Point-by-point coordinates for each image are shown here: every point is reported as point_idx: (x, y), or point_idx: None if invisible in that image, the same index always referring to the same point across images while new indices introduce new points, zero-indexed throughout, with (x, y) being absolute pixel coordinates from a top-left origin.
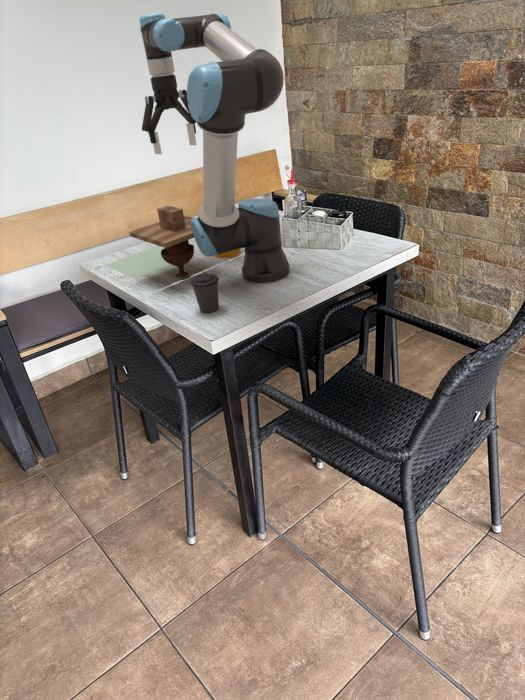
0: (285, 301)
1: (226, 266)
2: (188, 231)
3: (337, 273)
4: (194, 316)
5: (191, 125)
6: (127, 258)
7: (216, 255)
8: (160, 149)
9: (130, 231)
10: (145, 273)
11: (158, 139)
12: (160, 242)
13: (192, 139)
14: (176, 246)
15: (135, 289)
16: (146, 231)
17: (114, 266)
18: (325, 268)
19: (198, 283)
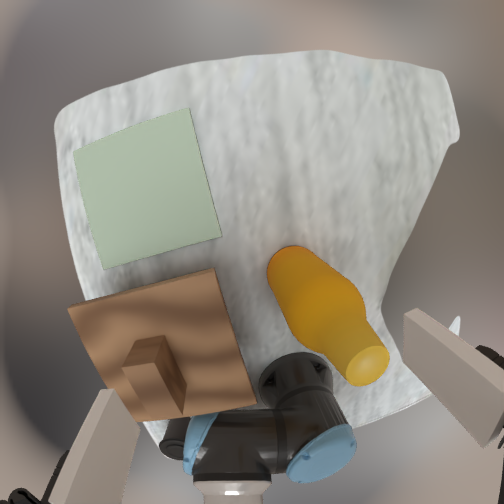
0: None
1: (262, 321)
2: (185, 404)
3: (352, 418)
4: (161, 423)
5: (477, 442)
6: (115, 143)
7: (267, 278)
8: (131, 449)
9: (69, 308)
10: (121, 257)
11: (118, 498)
12: None
13: (424, 371)
14: None
15: None
16: (101, 339)
17: (84, 173)
18: (355, 402)
19: (167, 454)
